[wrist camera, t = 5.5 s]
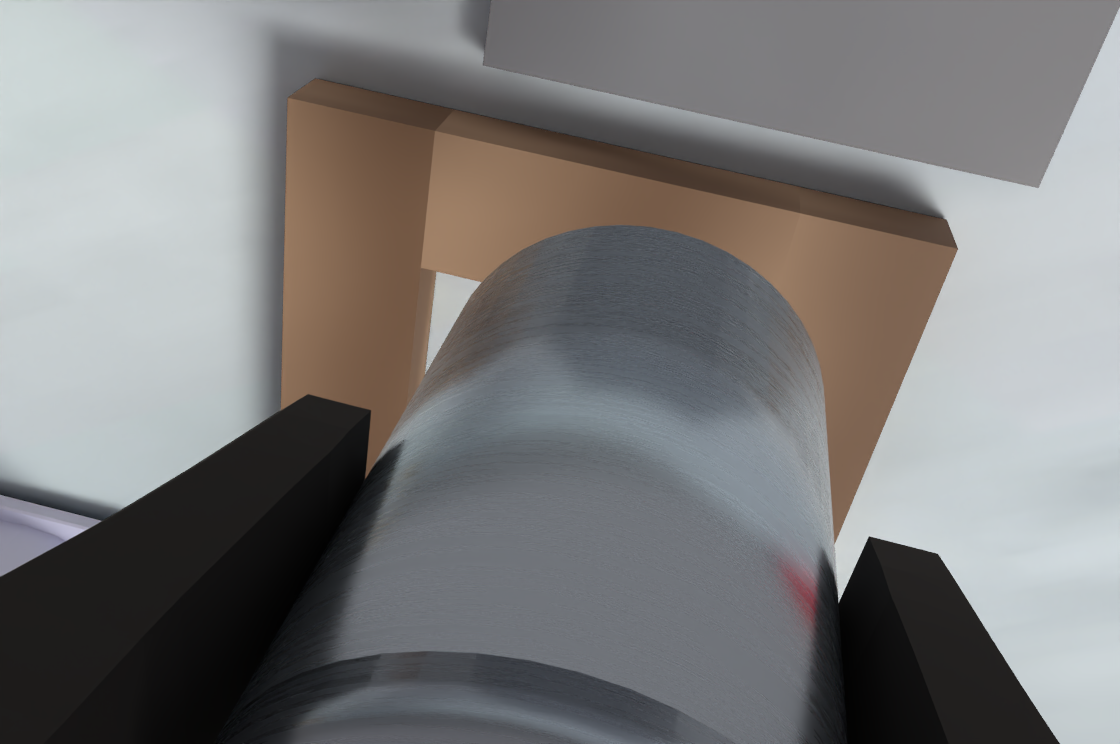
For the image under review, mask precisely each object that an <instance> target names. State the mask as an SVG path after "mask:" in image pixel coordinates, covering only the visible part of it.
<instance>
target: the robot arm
mask: <svg viewBox="0 0 1120 744" xmlns="http://www.w3.org/2000/svg"><path fill="white" fill-rule="evenodd" d="M370 419H371V410H369V409H365V408H361V407H357V406H353V405H349V404H345V403H341V402H337V401H333V400H329V399H325V398H321V397H317V396H313V395H310V394H307V395H306V396H304V397H302V398H300V399H299V400H297V401H295V402H294V403H292V404H290V405H289V406H287V407H286V408H284V409H282V410H281V411H279V412H277V413H276V414H274V415H273V416H271V417H269V418H268V419H266V420H265V421H263V422H262V423H260V424H259V425H257V426H255V427H254V428H252V429H251V430H249V431H248V432H246V433H245V434H243V435H241V436H240V437H238V438H237V439H235V440H234V441H232V442H231V443H229V444H227V445H226V446H224V447H223V448H221V449H220V450H218V451H216V452H215V453H213V454H212V455H210V456H208V457H207V458H205V459H204V460H202V461H201V462H199V463H197V464H196V465H194V466H193V467H191V468H190V469H188V470H186V471H185V472H183V473H181V474H180V475H178V476H176V477H175V478H173V479H171V480H170V481H168V482H166V483H165V484H163V485H162V486H160V487H158V488H157V489H155V490H153V491H152V492H150V493H148V494H147V495H145V496H143V497H142V498H140V499H138V500H137V501H135V502H133V503H132V504H130V505H128V506H127V507H125V508H123V509H122V510H120V511H118V512H117V513H115V514H113V515H112V516H110V517H108V518H106V519H105V520H103V521H101V520H97V519H93V518H89V517H85V516H81V515H77V514H73V513H69V512H65V511H61V510H58V509H54V508H50V507H46V506H42V505H38V504H34V503H30V502H26V501H22V500H18V499H15V498H11V497H7V496H3V495H0V744H214V742H215V740H216V739H217V737H218V735H219V734H220V732H221V730H222V728H223V727H224V725H225V723H226V721H227V720H228V718H229V716H230V714H231V713H232V711H233V709H234V707H235V706H236V704H237V702H238V700H239V699H240V697H241V695H242V693H243V692H244V690H245V688H246V686H247V685H248V683H249V681H250V679H251V678H252V676H253V674H254V672H255V671H256V669H257V667H258V666H259V664H260V662H261V660H262V659H263V657H264V655H265V653H266V652H267V650H268V648H269V646H270V645H271V643H272V641H273V639H274V638H275V636H276V634H277V632H278V631H279V629H280V627H281V625H282V624H283V622H284V620H285V618H286V617H287V615H288V613H289V611H290V610H291V608H292V606H293V604H294V603H295V601H296V599H297V598H298V596H299V594H300V592H301V591H302V589H303V587H304V585H305V584H306V582H307V580H308V578H309V577H310V575H311V573H312V571H313V570H314V568H315V566H316V564H317V563H318V561H319V559H320V557H321V556H322V554H323V552H324V550H325V549H326V547H327V545H328V543H329V542H330V540H331V538H332V536H333V535H334V533H335V531H336V530H337V528H338V526H339V524H340V523H341V521H342V519H343V517H344V516H345V514H346V512H347V510H348V509H349V507H350V505H351V503H352V502H353V500H354V498H355V496H356V495H357V493H358V491H359V489H360V488H361V486H362V484H363V482H364V481H365V476H366V465H367V453H368V442H369V430H370ZM838 605H839V620H840V634H841V649H842V664H843V679H844V693H845V708H846V723H847V738H848V744H1060V743H1059V742H1058V740H1057V739H1056V737H1055V736H1054V734H1053V733H1052V731H1051V730H1050V728H1049V727H1048V725H1047V724H1046V722H1045V721H1044V719H1043V718H1042V716H1041V715H1040V713H1039V712H1038V710H1037V709H1036V707H1035V706H1034V704H1033V703H1032V701H1031V700H1030V698H1029V696H1028V695H1027V693H1026V692H1025V690H1024V689H1023V687H1022V686H1021V684H1020V683H1019V681H1018V680H1017V678H1016V676H1015V675H1014V673H1013V672H1012V670H1011V668H1010V667H1009V665H1008V664H1007V662H1006V661H1005V659H1004V657H1003V656H1002V654H1001V653H1000V651H999V650H998V648H997V646H996V645H995V643H994V642H993V640H992V639H991V637H990V635H989V634H988V632H987V631H986V629H985V627H984V626H983V624H982V623H981V621H980V619H979V618H978V616H977V615H976V613H975V611H974V610H973V608H972V607H971V605H970V603H969V602H968V600H967V599H966V597H965V595H964V594H963V592H962V591H961V589H960V587H959V586H958V584H957V583H956V581H955V580H954V578H953V576H952V575H951V573H950V572H949V570H948V569H947V567H946V566H945V564H944V563H943V561H942V560H941V558H940V557H939V555H938V554H936V553H932V552H928V551H924V550H920V549H916V548H912V547H908V546H905V545H901V544H897V543H893V542H889V541H885V540H881V539H877V538H873V537H869V538H868V540H867V542H866V544H865V546H864V549H863V551H862V553H861V555H860V557H859V560H858V562H857V564H856V566H855V568H854V571H853V573H852V575H851V577H850V580H849V582H848V584H847V586H846V588H845V591H844V593H843V595H842V597H841V599H840V602H839V604H838Z"/></svg>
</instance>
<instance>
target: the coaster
mask: <svg viewBox="0 0 1120 744" xmlns="http://www.w3.org/2000/svg"><path fill="white" fill-rule="evenodd" d="M1119 7H1120V0H491V4H490V12H489V20H488V28H487V36H486V44H485V52H484V60H483V65H484V66H488V67H493V68H497V69H502V70H506V71H511V72H515V73H520V74H524V75H529V76H533V77H538V78H542V79H547V80H552V81H556V82H561V83H565V84H570V85H574V86H579V87H583V88H588V89H592V90H597V91H601V92H606V93H610V94H615V95H619V96H624V97H629V98H633V99H638V100H642V101H647V102H651V103H656V104H660V105H665V106H669V107H674V108H678V109H683V110H687V111H692V112H696V113H701V114H706V115H710V116H715V117H719V118H724V119H728V120H733V121H737V122H742V123H746V124H751V125H755V126H760V127H764V128H769V129H773V130H778V131H783V132H787V133H792V134H796V135H801V136H805V137H810V138H814V139H819V140H823V141H828V142H832V143H837V144H841V145H846V146H851V147H855V148H860V149H864V150H869V151H873V152H878V153H882V154H887V155H891V156H896V157H900V158H905V159H909V160H914V161H918V162H923V163H928V164H932V165H937V166H941V167H946V168H950V169H955V170H959V171H964V172H968V173H973V174H977V175H982V176H986V177H991V178H995V179H1000V180H1005V181H1009V182H1014V183H1018V184H1023V185H1027V186H1032V187H1036V188H1039V185H1040V183H1041V181H1042V179H1043V176H1044V174H1045V172H1046V170H1047V168H1048V165H1049V163H1050V161H1051V159H1052V156H1053V154H1054V152H1055V150H1056V147H1057V145H1058V143H1059V141H1060V139H1061V136H1062V134H1063V132H1064V130H1065V127H1066V125H1067V123H1068V121H1069V119H1070V116H1071V114H1072V112H1073V110H1074V107H1075V105H1076V103H1077V101H1078V98H1079V96H1080V94H1081V92H1082V90H1083V87H1084V85H1085V83H1086V81H1087V78H1088V76H1089V74H1090V72H1091V69H1092V67H1093V65H1094V63H1095V61H1096V58H1097V56H1098V54H1099V52H1100V49H1101V47H1102V45H1103V43H1104V41H1105V38H1106V36H1107V34H1108V32H1109V29H1110V27H1111V25H1112V23H1113V20H1114V18H1115V16H1116V14H1117V12H1118V9H1119Z"/></svg>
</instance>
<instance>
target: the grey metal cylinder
mask: <svg viewBox="0 0 1120 744" xmlns="http://www.w3.org/2000/svg"><path fill="white" fill-rule="evenodd" d="M214 744H848V738H847V723H846V708H845V693H844V679H843V664H842V649H841V634H840V620H839V605H838V590H837V575H836V560H835V546H834V531H833V516H832V501H831V486H830V472H829V457H828V442H827V427H826V413H825V398H824V385H823V379H822V373H821V367H820V363H819V360H818V357H817V354H816V351H815V348H814V345H813V342H812V340H811V338H810V336H809V334H808V332H807V330H806V328H805V326H804V325H803V323H802V321H801V319H800V318H799V317H798V315H797V314H796V312H795V311H794V310H793V308H792V307H791V305H790V304H789V302H788V301H787V300H786V299H785V298H784V297H783V296H782V295H781V294H780V293H779V291H778V290H777V289H776V288H775V287H774V286H773V285H772V284H771V283H770V282H769V281H768V280H766V279H765V278H764V277H763V276H762V275H760V274H759V273H758V272H757V271H755V270H754V269H753V268H752V267H751V266H749V265H747V264H746V263H744V262H743V261H741V260H739V259H738V258H736V257H735V256H733V255H731V254H730V253H728V252H726V251H724V250H722V249H720V248H718V247H716V246H714V245H711V244H709V243H707V242H705V241H703V240H700V239H697V238H694V237H690V236H687V235H684V234H681V233H678V232H674V231H669V230H664V229H658V228H653V227H646V226H631V225H610V226H594V227H589V228H583V229H578V230H572V231H568V232H565V233H562V234H558V235H555V236H552V237H549V238H546V239H544V240H541V241H539V242H537V243H535V244H533V245H531V246H529V247H527V248H525V249H523V250H521V251H520V252H518V253H517V254H515V255H514V256H512V257H510V258H509V259H507V260H506V261H504V262H503V263H502V264H501V265H500V266H498V267H497V268H496V269H495V270H494V271H493V272H492V273H491V274H489V275H488V276H487V277H486V278H485V279H484V281H483V282H482V283H481V284H480V285H479V287H478V288H477V289H476V290H475V291H474V293H473V294H472V295H471V297H470V298H469V300H468V302H467V303H466V305H465V307H464V308H463V310H462V312H461V313H460V315H459V317H458V319H457V320H456V322H455V324H454V326H453V327H452V329H451V331H450V332H449V334H448V336H447V338H446V339H445V341H444V343H443V345H442V346H441V348H440V350H439V352H438V353H437V355H436V357H435V359H434V360H433V362H432V364H431V366H430V367H429V369H428V371H427V373H426V374H425V376H424V378H423V380H422V381H421V383H420V385H419V387H418V388H417V390H416V392H415V394H414V395H413V397H412V399H411V400H410V402H409V404H408V406H407V407H406V409H405V411H404V413H403V414H402V416H401V418H400V420H399V421H398V423H397V425H396V427H395V428H394V430H393V432H392V434H391V435H390V437H389V439H388V441H387V442H386V444H385V446H384V448H383V449H382V451H381V453H380V455H379V456H378V458H377V460H376V462H375V463H374V465H373V467H372V468H371V470H370V472H369V474H368V475H367V477H366V479H365V481H364V482H363V484H362V486H361V488H360V489H359V491H358V493H357V495H356V496H355V498H354V500H353V502H352V503H351V505H350V507H349V509H348V510H347V512H346V514H345V516H344V517H343V519H342V521H341V523H340V524H339V526H338V528H337V530H336V531H335V533H334V535H333V536H332V538H331V540H330V542H329V543H328V545H327V547H326V549H325V550H324V552H323V554H322V556H321V557H320V559H319V561H318V563H317V564H316V566H315V568H314V570H313V571H312V573H311V575H310V577H309V578H308V580H307V582H306V584H305V585H304V587H303V589H302V591H301V592H300V594H299V596H298V598H297V599H296V601H295V603H294V604H293V606H292V608H291V610H290V611H289V613H288V615H287V617H286V618H285V620H284V622H283V624H282V625H281V627H280V629H279V631H278V632H277V634H276V636H275V638H274V639H273V641H272V643H271V645H270V646H269V648H268V650H267V652H266V653H265V655H264V657H263V659H262V660H261V662H260V664H259V666H258V667H257V669H256V671H255V672H254V674H253V676H252V678H251V679H250V681H249V683H248V685H247V686H246V688H245V690H244V692H243V693H242V695H241V697H240V699H239V700H238V702H237V704H236V706H235V707H234V709H233V711H232V713H231V714H230V716H229V718H228V720H227V721H226V723H225V725H224V727H223V728H222V730H221V732H220V734H219V735H218V737H217V739H216V740H215V742H214Z"/></svg>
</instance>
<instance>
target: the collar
mask: <svg viewBox="0 0 1120 744" xmlns="http://www.w3.org/2000/svg"><path fill="white" fill-rule="evenodd" d="M610 225H631V226H646V227H653V228H658V229H664V230H669V231H674V232H678V233H681V234H684V235H687V236H690V237H694V238H697V239H700V240H703V241H705V242H707V243H709V244H711V245H714V246H716V247H718V248H720V249H722V250H724V251H726V252H728V253H730V254H731V255H733V256H735V257H736V258H738V259H739V260H741V261H743V262H744V263H746V264H747V265H749V266H751V267H752V268H753V269H754V270H755V271H757V272H758V273H759V274H760V275H762V276H763V277H764V278H765V279H766V280H768V281H769V282H770V283H771V284H772V285H773V286H774V287H775V288H776V289H777V290H778V291H779V293H780V294H781V295H782V296H783V297H784V298H785V299H786V300H787V301H788V302H789V304H790V305H791V307H792V308H793V310H794V311H795V312H796V314H797V315H798V317H799V318H800V319H801V321H802V323H803V325H804V326H805V328H806V330H807V332H808V334H809V336H810V338H811V340H812V342H813V345H814V348H815V351H816V354H817V357H818V360H819V363H820V367H821V373H822V379H823V385H824V398H825V413H826V427H827V442H828V457H829V472H830V486H831V501H832V516H833V531H834V544H835V542H836V540H837V537H838V535H839V532H840V530H841V528H842V525H843V523H844V520H845V518H846V516H847V513H848V511H849V508H850V506H851V504H852V501H853V499H854V496H855V494H856V492H857V489H858V487H859V484H860V482H861V480H862V477H863V475H864V472H865V470H866V468H867V465H868V463H869V461H870V458H871V456H872V453H873V451H874V449H875V446H876V444H877V441H878V439H879V437H880V434H881V432H882V429H883V427H884V425H885V422H886V420H887V417H888V415H889V413H890V410H891V408H892V405H893V403H894V401H895V398H896V396H897V393H898V391H899V389H900V386H901V384H902V381H903V379H904V377H905V374H906V372H907V370H908V367H909V365H910V362H911V360H912V358H913V355H914V353H915V350H916V348H917V346H918V343H919V341H920V338H921V336H922V334H923V331H924V329H925V326H926V324H927V322H928V319H929V317H930V314H931V312H932V310H933V307H934V305H935V302H936V300H937V298H938V295H939V293H940V291H941V288H942V286H943V283H944V281H945V279H946V276H947V274H948V271H949V269H950V267H951V264H952V262H953V259H954V257H955V255H956V252H957V250H958V248H957V245H956V243H955V240H954V238H953V235H952V232H951V230H950V227H949V225H948V222H947V220H946V219H941V218H937V217H932V216H928V215H923V214H919V213H914V212H910V211H905V210H901V209H896V208H892V207H888V206H883V205H879V204H874V203H870V202H865V201H861V200H856V199H852V198H847V197H843V196H838V195H834V194H829V193H825V192H821V191H816V190H812V189H807V188H803V187H798V186H794V185H789V184H785V183H780V182H776V181H771V180H767V179H762V178H758V177H754V176H749V175H745V174H740V173H736V172H731V171H727V170H722V169H718V168H713V167H709V166H704V165H700V164H695V163H691V162H687V161H682V160H678V159H673V158H669V157H664V156H660V155H655V154H651V153H646V152H642V151H637V150H633V149H628V148H624V147H620V146H615V145H611V144H606V143H602V142H597V141H593V140H588V139H584V138H579V137H575V136H570V135H566V134H561V133H557V132H553V131H548V130H544V129H539V128H535V127H530V126H526V125H521V124H517V123H512V122H508V121H503V120H499V119H495V118H490V117H486V116H481V115H477V114H472V113H468V112H463V111H459V110H454V109H450V108H445V107H441V106H436V105H432V104H428V103H423V102H419V101H414V100H410V99H405V98H401V97H396V96H392V95H387V94H383V93H378V92H374V91H369V90H365V89H361V88H356V87H352V86H347V85H343V84H338V83H334V82H329V81H325V80H320V79H316V78H315V79H314V80H312V81H311V82H309V83H308V84H307V85H305V86H304V87H302V88H301V89H299V90H298V91H296V92H295V93H294V94H292V95H291V96H289V97H288V99H287V145H286V191H285V238H284V284H283V330H282V376H281V410H282V409H284V408H286V407H287V406H289V405H290V404H292V403H294V402H295V401H297V400H299V399H300V398H302V397H304V396H306V395H307V394H310V395H313V396H317V397H321V398H325V399H329V400H333V401H337V402H341V403H345V404H349V405H353V406H357V407H361V408H365V409H369V410H371V419H370V430H369V442H368V453H367V465H366V476H365V479H366V477H367V475H368V474H369V472H370V470H371V468H372V467H373V465H374V463H375V462H376V460H377V458H378V456H379V455H380V453H381V451H382V449H383V448H384V446H385V444H386V442H387V441H388V439H389V437H390V435H391V434H392V432H393V430H394V428H395V427H396V425H397V423H398V421H399V420H400V418H401V416H402V414H403V413H404V411H405V409H406V407H407V406H408V404H409V402H410V400H411V399H412V397H413V395H414V394H415V392H416V390H417V388H418V387H419V385H420V383H421V381H422V380H423V378H424V376H425V367H426V358H427V349H428V341H429V332H430V323H431V314H432V305H433V296H434V287H435V278H436V271H437V272H441V273H446V274H450V275H454V276H458V277H463V278H467V279H471V280H475V281H480V282H483V281H484V279H485V278H486V277H487V276H488V275H489V274H491V273H492V272H493V271H494V270H495V269H496V268H497V267H498V266H500V265H501V264H502V263H503V262H504V261H506V260H507V259H509V258H510V257H512V256H514V255H515V254H517V253H518V252H520V251H521V250H523V249H525V248H527V247H529V246H531V245H533V244H535V243H537V242H539V241H541V240H544V239H546V238H549V237H552V236H555V235H558V234H562V233H565V232H568V231H572V230H578V229H583V228H589V227H594V226H610Z"/></svg>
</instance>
